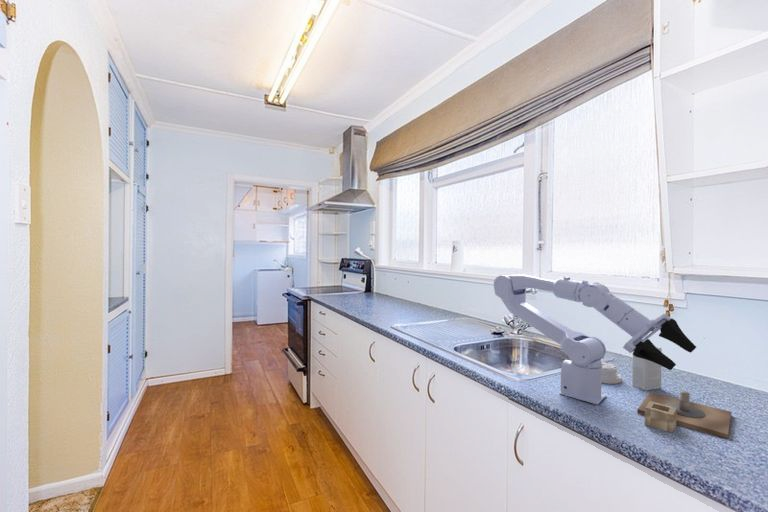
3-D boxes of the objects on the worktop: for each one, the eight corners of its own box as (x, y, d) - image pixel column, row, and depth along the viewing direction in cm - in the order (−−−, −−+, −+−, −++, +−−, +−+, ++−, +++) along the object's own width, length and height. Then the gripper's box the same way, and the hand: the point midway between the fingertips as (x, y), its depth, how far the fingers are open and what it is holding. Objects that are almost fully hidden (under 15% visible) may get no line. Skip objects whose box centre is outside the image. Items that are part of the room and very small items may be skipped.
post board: (637, 413, 88) (637, 391, 87) (649, 395, 98) (650, 375, 98) (727, 438, 76) (728, 413, 76) (731, 415, 86) (731, 393, 86)
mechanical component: (600, 371, 117) (576, 374, 114) (600, 358, 117) (576, 361, 114) (629, 382, 108) (604, 386, 105) (629, 368, 108) (604, 371, 105)
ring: (644, 424, 82) (645, 407, 82) (649, 417, 85) (649, 400, 85) (672, 432, 78) (673, 415, 78) (676, 425, 82) (676, 407, 82)
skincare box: (646, 383, 107) (647, 343, 106) (661, 388, 103) (662, 347, 102) (631, 385, 105) (632, 345, 105) (645, 391, 101) (646, 349, 101)
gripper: (612, 322, 84) (672, 366, 76) (651, 294, 89) (711, 332, 80) (603, 338, 89) (657, 382, 81) (640, 311, 94) (695, 349, 85)
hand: (683, 358), depth 81 cm, fingers open, 7 cm apart
